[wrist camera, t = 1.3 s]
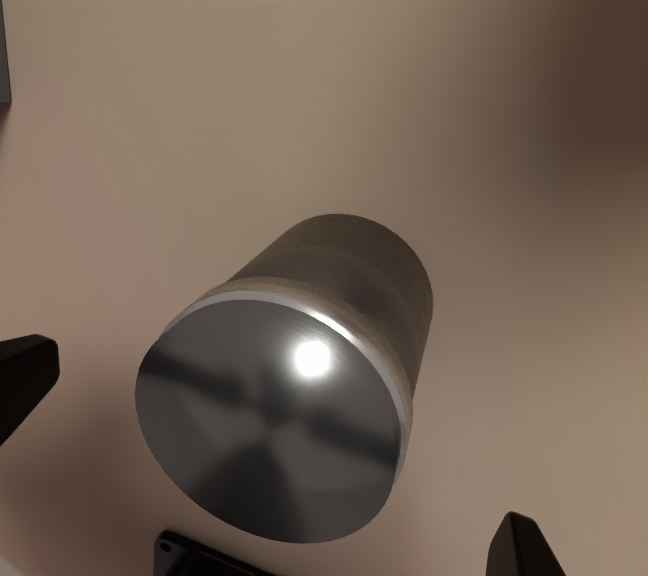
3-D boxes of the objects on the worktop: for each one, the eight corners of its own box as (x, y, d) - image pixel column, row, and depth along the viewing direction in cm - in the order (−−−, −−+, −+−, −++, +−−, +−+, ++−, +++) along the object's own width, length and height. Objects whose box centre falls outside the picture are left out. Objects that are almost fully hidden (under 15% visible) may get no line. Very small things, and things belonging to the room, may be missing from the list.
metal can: (408, 400, 15) (362, 584, 10) (249, 345, 16) (129, 486, 11) (462, 241, 12) (441, 372, 7) (271, 188, 13) (131, 270, 8)
